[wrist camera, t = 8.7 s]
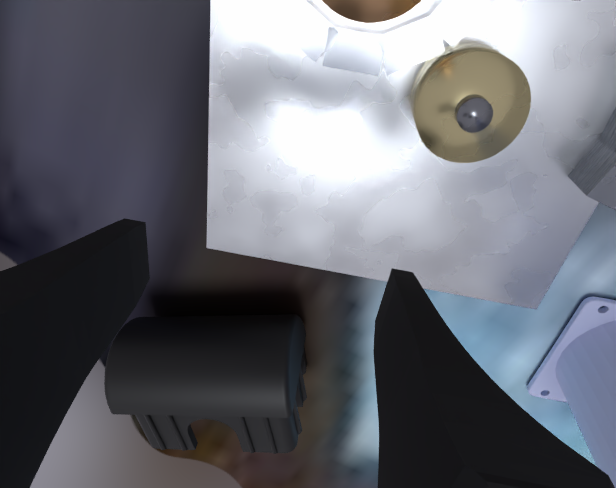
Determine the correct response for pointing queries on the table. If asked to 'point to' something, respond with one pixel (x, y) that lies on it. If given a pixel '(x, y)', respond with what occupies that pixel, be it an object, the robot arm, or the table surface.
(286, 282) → the table surface
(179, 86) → the table surface
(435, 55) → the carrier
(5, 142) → the table surface
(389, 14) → the gear
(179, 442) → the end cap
